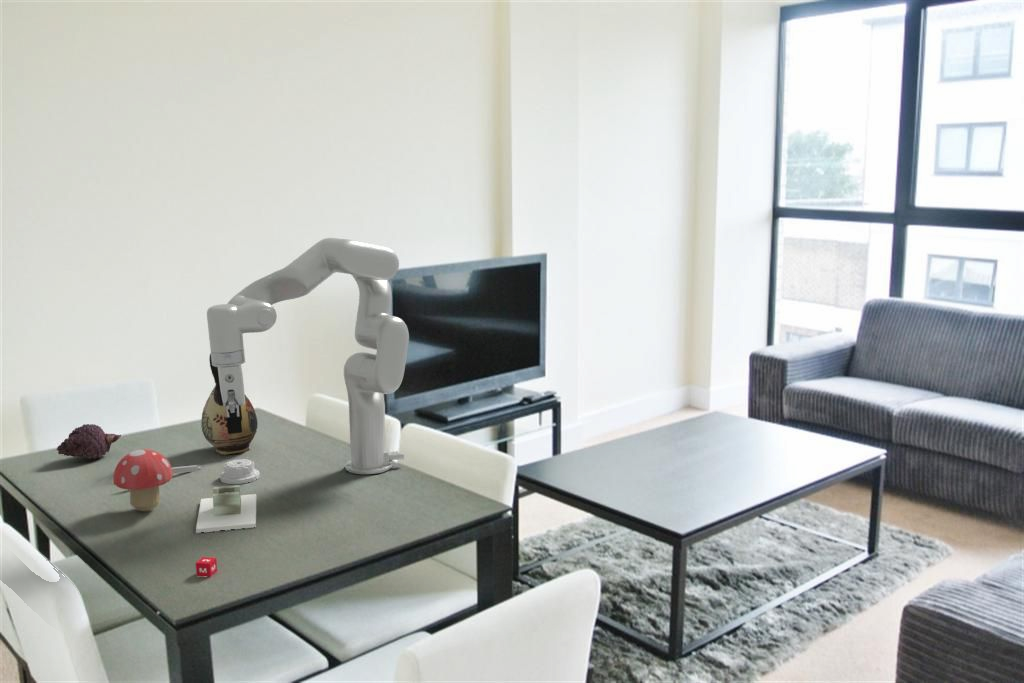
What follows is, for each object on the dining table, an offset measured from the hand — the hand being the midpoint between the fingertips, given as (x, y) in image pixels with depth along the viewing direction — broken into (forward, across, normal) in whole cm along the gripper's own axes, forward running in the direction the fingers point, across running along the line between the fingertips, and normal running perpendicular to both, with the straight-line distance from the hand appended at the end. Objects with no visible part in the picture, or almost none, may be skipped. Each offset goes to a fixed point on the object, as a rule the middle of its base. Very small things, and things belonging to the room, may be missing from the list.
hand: (235, 427), depth 229 cm
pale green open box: (+19, -6, +3) cm, 20 cm away
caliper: (+20, +26, +19) cm, 38 cm away
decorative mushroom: (+19, +3, +22) cm, 30 cm away
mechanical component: (+21, +21, +1) cm, 29 cm away
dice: (+19, -39, +7) cm, 44 cm away
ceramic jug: (+21, +46, +4) cm, 51 cm away
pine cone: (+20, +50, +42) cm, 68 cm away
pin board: (+20, -6, +4) cm, 21 cm away
